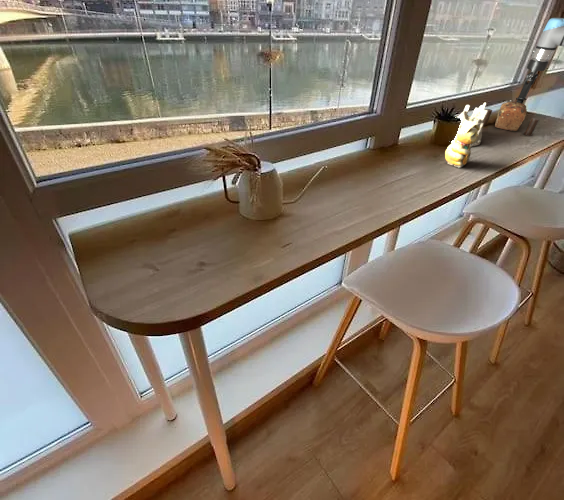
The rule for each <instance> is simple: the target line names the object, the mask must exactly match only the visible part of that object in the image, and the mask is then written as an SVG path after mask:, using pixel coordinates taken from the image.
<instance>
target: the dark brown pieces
mask: <svg viewBox="0 0 564 500" xmlns="http://www.w3.org/2000/svg"><path fill="white" fill-rule="evenodd" d="M485 110H488V111H487V113H486V116H485V119H484V123H483V127H486V126H487V125H488V122H489V120H490V118H491V115H492V113H493V110H492V109H491V108H485ZM539 122H540V118H537V117H532V118H531V119H530V121H529V123H528V125H527V126H526V128H525V131H524V133H523V135H524V136H527V137H531V136H533V134H534V132H535V129H536V128H537V125H538V124H539Z"/></svg>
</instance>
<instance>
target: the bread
mask: <svg viewBox="0 0 564 500" xmlns="http://www.w3.org/2000/svg"><path fill="white" fill-rule="evenodd" d="M527 113H528V109H527V105H526V104H525V103H523V104H522V103H519V102H517V101H512V100H511V101H508V102H507V101H506V102H503V103H502V104H501V105H500V108H499V110H498V112H497V117H496V118H495V123H494V127H495V128H498V129H501V130H505V131H509V132H510V131H511V132H517V131H518V130H519V129H520V127H521V125H522V124H523V122H524V120H525V119H526V116H527Z"/></svg>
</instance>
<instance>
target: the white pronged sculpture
mask: <svg viewBox="0 0 564 500" xmlns="http://www.w3.org/2000/svg"><path fill="white" fill-rule="evenodd" d="M486 106H487V102H484V103H483V104H481V105H480V106H479V107H475V108H474V110H473V112H472V114H471V115H469V114H468V113H469V111H470V107H471V105H470V104H466V105H465V107H464V109H463V111H462V112H460V114H458V115H457V116H456V117H458V118H460V120H461V123H460V125H459V128H458V131H459V130H460V129H461V128H463V127H467V126H468V125H469V124H470V123H472V122H474V121H477V123H476V124H477V125H480V130H478V133H477V134H478V139H477V140H476V141H475V142H473V143H472V144H470V145H471V148H472V147H476V146H479V145H481V142H482V137H483V127H484V126H483V123H484V119H485V116H486V113H487V111H488V110H485V109H486ZM476 124H475V125H476ZM458 131H457V133H458ZM456 139H457V134H456V136H455V138H454V140H452V141H451V142H450V143H451V144H452V143H453V142H455V140H456Z"/></svg>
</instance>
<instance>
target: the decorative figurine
mask: <svg viewBox="0 0 564 500" xmlns="http://www.w3.org/2000/svg"><path fill="white" fill-rule="evenodd" d="M476 123H477V121H474V122H472V123H470V124H469V125H468V126H467V127H463V128H461V129H460V130H459V131H458V133H457V139H456V140H455V142H453V143H452V142H451V143H450V144H449V145H448V146H447V148H446V149H445V152H444V157H445V161H446V162H447V165H450V166H453V167H456V168H458V169H460V168H463V167H464V166H465V165H467V163H468V161H469V160H470V158H471V153H472V151H471V148H472V147H471V145H470V144H472V143H473V142H475V141H476V140H477V139H478V134H477V133H478V130H480V125H477V124H476ZM475 124H476V125H475Z"/></svg>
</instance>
